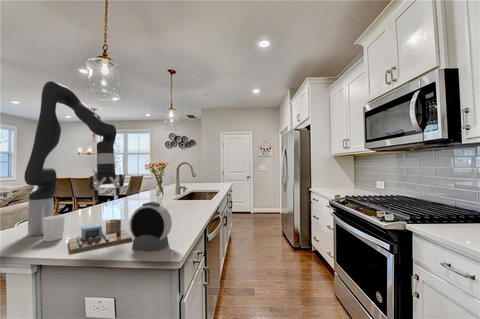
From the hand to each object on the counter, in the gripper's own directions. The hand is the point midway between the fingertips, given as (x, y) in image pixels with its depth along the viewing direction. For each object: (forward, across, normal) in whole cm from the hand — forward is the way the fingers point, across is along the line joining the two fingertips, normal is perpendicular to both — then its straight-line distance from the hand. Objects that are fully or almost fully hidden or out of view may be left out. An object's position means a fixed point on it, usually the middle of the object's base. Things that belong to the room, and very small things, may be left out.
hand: (107, 197), depth 106 cm
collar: (+18, -3, -5) cm, 19 cm away
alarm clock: (+20, -8, +28) cm, 35 cm away
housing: (+17, +7, +2) cm, 19 cm away
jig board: (+19, +5, +6) cm, 20 cm away
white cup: (+18, +19, -14) cm, 29 cm away
